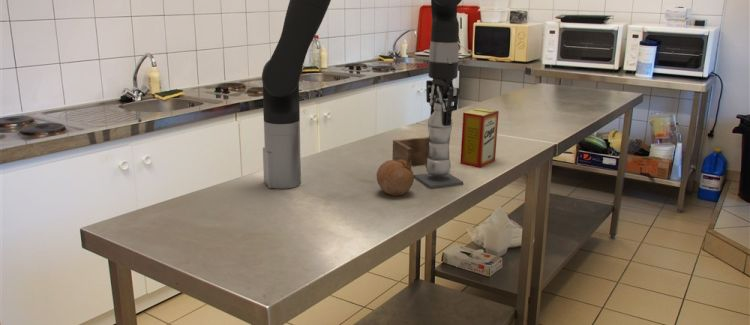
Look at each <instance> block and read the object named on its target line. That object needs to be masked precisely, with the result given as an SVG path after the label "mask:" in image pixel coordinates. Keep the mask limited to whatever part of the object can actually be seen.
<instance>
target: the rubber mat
mask: <svg viewBox="0 0 750 325" xmlns="http://www.w3.org/2000/svg"><path fill="white" fill-rule="evenodd" d="M413 175H414V179H415V180H416V181H417V182H419V183H420V184H422V185H423V186H425V187H427V188H428V189H439V188H447V187H448V188H449V187H457V186H463V185H464V181H462V180H461V179H460V178H457V177H456V176H454V175H452V174H450V172H449V173H448V174H447V175H445V176H434V175H430V174H429V173H428V172H427V173H420V174H413Z"/></svg>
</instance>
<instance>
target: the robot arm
mask: <svg viewBox="0 0 750 325" xmlns="http://www.w3.org/2000/svg"><path fill="white" fill-rule="evenodd" d="M331 1H332V0H289V1H288V2H289V3H288V5H287V9H286V13H285V16H284V22H283V26H282V31H281V34H280V37H279V40H278V42H277V44H276V46H275V48H274V51H273V53H272V55H271V56H270V58H269V59H268V61H267V62H266V63H265V65H264V66H263V68H262V73H261V81H262V98H263V100H262V102H263V103H262V104H263V106H262V108H263V109H262V110H263V111H262V112H263V113H262V114H263V134H264V136H263V137H264V147H262V161H263V162H262V163H263V167H262V168H263V182H264V184H265V185H266V187H268V189H278V190H279V189H281V190H283V189H293V188H295V187H298V186H300V185H301V183H302V171H301V163H302V162H301V121H300V119H301V118H300V117H301V114H300V113H301V112H300V109H301V108H300V78H301V74H302V70H303V67H304V63H305V59H306V57H307V54H308V51H309V49H310V47H311V44H312V42H313V40H314V38H315V37H316V35H317V32H318V30H319V29H320V27H321V24H322V22H323V21H324V18H325V16H326V13H327V11H328V8H329V6H330V4H331ZM462 1H463V0H430V6H431V32H430V45H429V53H428V56H429V57H428V73H427V74H428V77H429V78H430V79H431V80H426V82H425V87H426V89H425V91H426V95H425V96H426V103H429V104H428V105H429V107H430V113H429V114H430V115H429V117H430V116H431V114H432V113H433V112H434V109H433V107H434V102H437V101H440V103H441V104H442V106H443V111H444V112H443V121H442V125H443V126H450V125H451V119H452V113H453V112H455V111H457V110H458V106H459V99H460V88H459V87H454V82H453V81H454V79H457V78H458V74H459V73H458V70H459V54H460V49H459V41H460V40H459V37H460V35H459V34H460V23H459V21H458V5H459V4H460V3H461V2H462ZM446 103H447V107H446Z"/></svg>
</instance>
